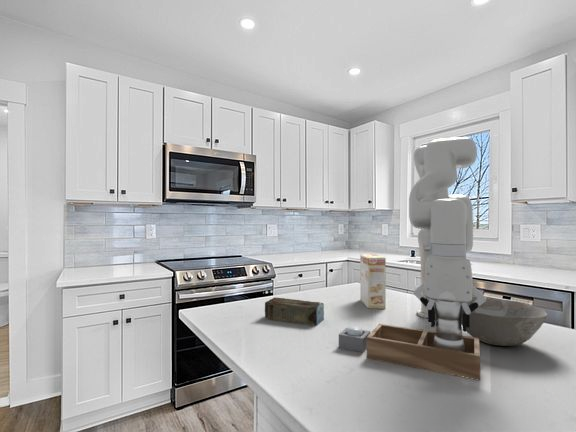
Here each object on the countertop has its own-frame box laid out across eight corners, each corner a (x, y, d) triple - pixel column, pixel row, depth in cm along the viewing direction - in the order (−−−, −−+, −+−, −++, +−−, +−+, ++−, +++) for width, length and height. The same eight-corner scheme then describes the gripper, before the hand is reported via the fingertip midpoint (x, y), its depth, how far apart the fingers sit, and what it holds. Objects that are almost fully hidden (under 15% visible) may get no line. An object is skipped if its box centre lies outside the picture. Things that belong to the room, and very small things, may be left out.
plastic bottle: (468, 364, 75) (468, 275, 75) (436, 361, 76) (436, 274, 77) (460, 353, 81) (460, 270, 82) (430, 350, 83) (430, 269, 83)
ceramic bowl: (553, 365, 78) (552, 322, 78) (444, 346, 90) (443, 308, 90) (542, 337, 96) (541, 302, 96) (453, 324, 109) (453, 293, 109)
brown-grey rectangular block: (317, 327, 107) (317, 306, 107) (263, 320, 114) (263, 300, 114) (324, 320, 114) (324, 300, 114) (273, 314, 122) (273, 296, 122)
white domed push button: (349, 334, 92) (349, 325, 93) (364, 336, 91) (364, 327, 91) (345, 339, 89) (345, 329, 89) (359, 341, 87) (359, 331, 87)
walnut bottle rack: (379, 341, 93) (379, 323, 93) (479, 359, 81) (478, 338, 81) (366, 357, 82) (366, 337, 82) (480, 380, 70) (479, 356, 70)
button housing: (346, 340, 94) (346, 327, 94) (370, 344, 91) (370, 331, 91) (338, 347, 88) (338, 334, 89) (363, 352, 85) (363, 338, 85)
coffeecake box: (386, 308, 128) (386, 257, 128) (367, 308, 128) (367, 257, 128) (376, 299, 143) (376, 253, 143) (359, 299, 143) (359, 253, 143)
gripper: (406, 251, 80) (407, 326, 80) (491, 254, 72) (492, 339, 72) (412, 248, 87) (412, 318, 87) (489, 251, 78) (490, 329, 78)
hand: (448, 327), depth 79 cm, fingers closed on plastic bottle, 6 cm apart
